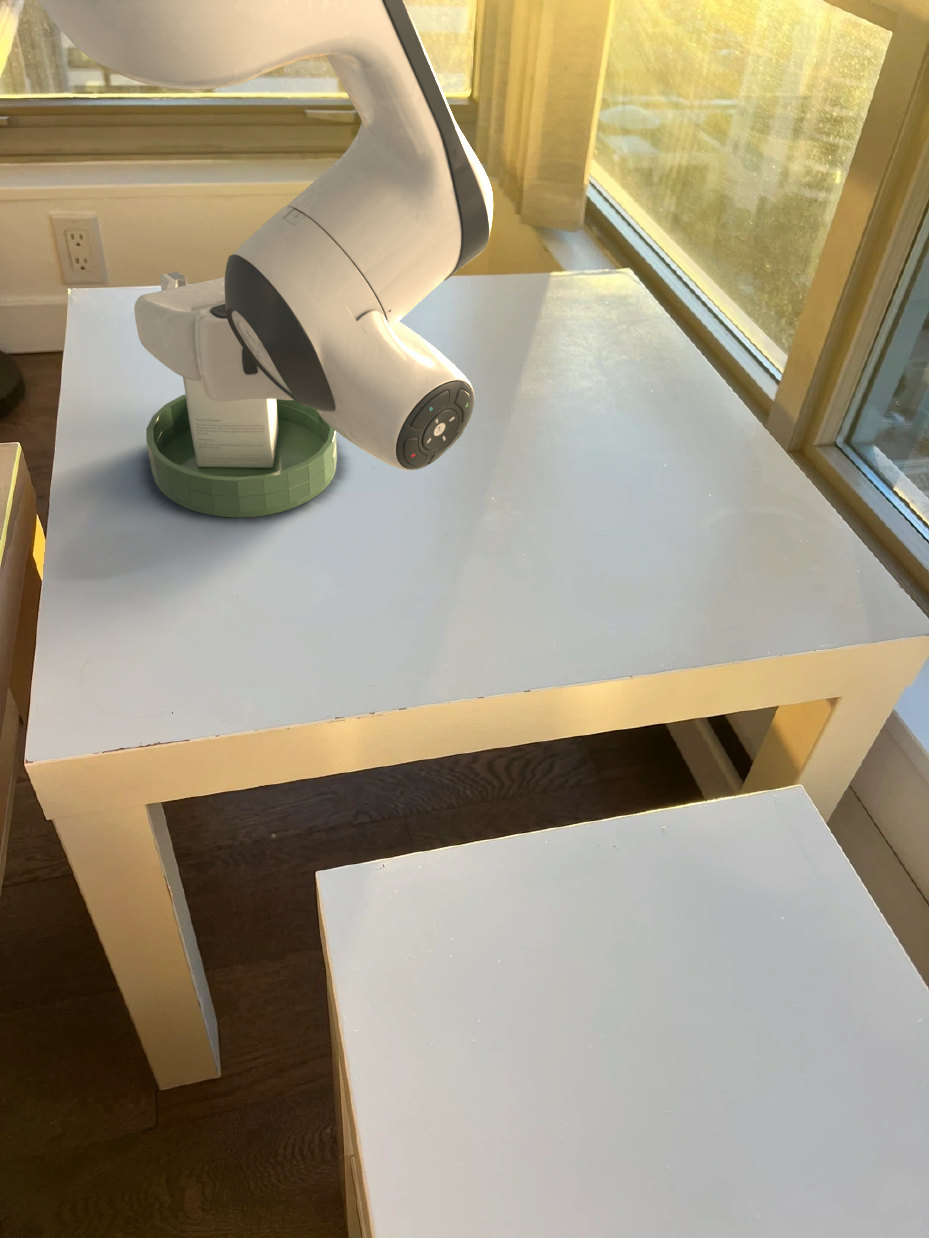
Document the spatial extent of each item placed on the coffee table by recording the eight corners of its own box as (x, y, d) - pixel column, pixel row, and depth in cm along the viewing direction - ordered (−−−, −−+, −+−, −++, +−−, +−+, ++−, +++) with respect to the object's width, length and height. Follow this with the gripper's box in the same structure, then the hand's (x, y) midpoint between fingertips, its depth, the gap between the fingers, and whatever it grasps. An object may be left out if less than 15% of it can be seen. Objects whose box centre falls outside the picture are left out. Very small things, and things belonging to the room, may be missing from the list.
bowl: (183, 536, 83) (177, 498, 81) (132, 438, 94) (125, 402, 91) (365, 491, 90) (365, 455, 87) (297, 405, 101) (295, 370, 98)
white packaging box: (280, 429, 96) (272, 308, 88) (273, 470, 91) (263, 346, 82) (205, 427, 95) (189, 305, 87) (193, 468, 90) (175, 343, 82)
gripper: (423, 268, 75) (327, 211, 83) (182, 326, 65) (97, 255, 73) (420, 342, 80) (328, 282, 87) (193, 408, 69) (112, 334, 77)
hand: (221, 270), depth 80 cm, fingers open, 8 cm apart
